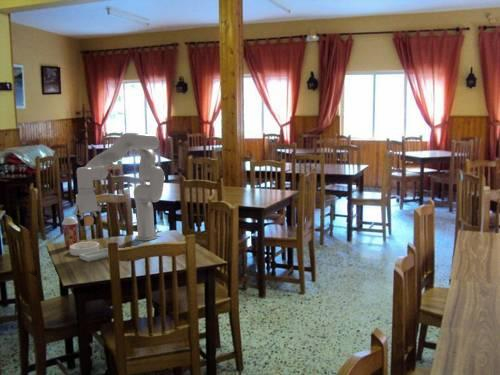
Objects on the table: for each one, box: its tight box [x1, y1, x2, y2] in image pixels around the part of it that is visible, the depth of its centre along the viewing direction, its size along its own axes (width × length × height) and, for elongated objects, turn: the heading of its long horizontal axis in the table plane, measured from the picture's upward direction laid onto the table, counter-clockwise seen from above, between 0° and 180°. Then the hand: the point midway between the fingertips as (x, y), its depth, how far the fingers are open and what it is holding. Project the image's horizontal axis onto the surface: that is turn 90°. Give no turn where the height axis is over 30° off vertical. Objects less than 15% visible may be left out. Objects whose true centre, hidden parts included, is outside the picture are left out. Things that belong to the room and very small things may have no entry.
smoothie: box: [61, 210, 79, 249], centre depth 290 cm, size 8×8×20 cm
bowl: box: [69, 241, 100, 257], centre depth 281 cm, size 15×15×4 cm
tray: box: [79, 247, 109, 263], centre depth 270 cm, size 16×9×2 cm, turn 134°
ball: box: [83, 214, 94, 227], centre depth 274 cm, size 6×6×6 cm
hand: (88, 224), depth 274 cm, fingers closed on ball, 5 cm apart
